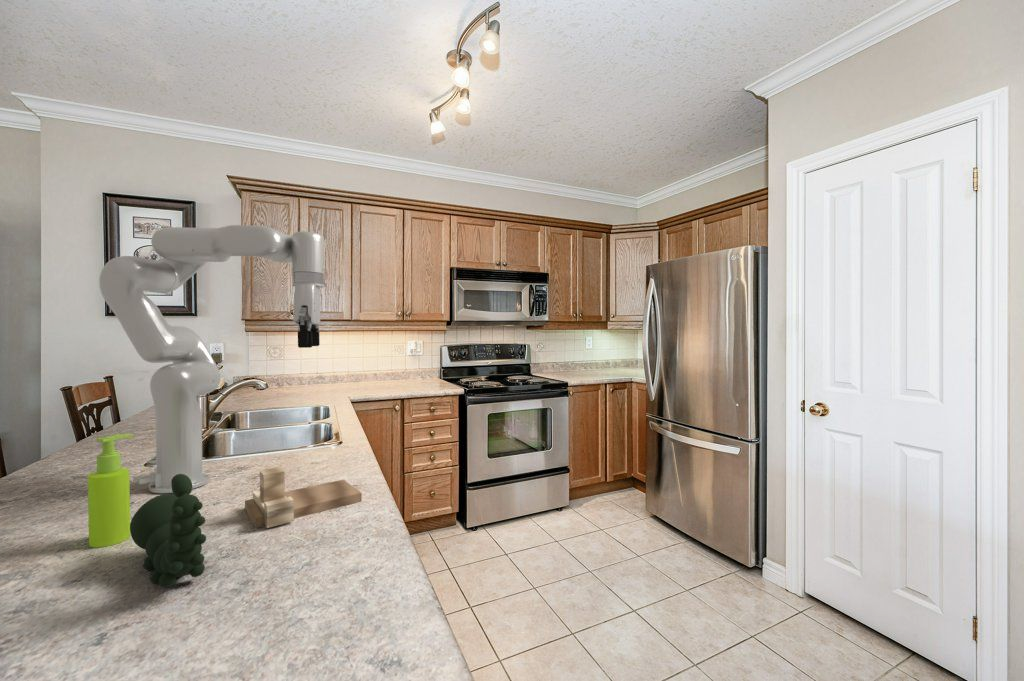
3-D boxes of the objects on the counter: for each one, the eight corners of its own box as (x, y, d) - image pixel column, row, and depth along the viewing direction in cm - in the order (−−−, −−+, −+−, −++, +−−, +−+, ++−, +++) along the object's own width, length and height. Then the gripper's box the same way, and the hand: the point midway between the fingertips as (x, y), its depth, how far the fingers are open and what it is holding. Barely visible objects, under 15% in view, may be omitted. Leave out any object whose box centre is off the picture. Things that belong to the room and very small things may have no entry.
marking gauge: (266, 527, 89) (266, 482, 89) (252, 505, 100) (252, 465, 100) (293, 521, 92) (293, 477, 92) (277, 500, 103) (276, 461, 103)
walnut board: (255, 527, 90) (255, 518, 90) (244, 509, 99) (244, 500, 99) (361, 501, 105) (361, 492, 105) (343, 487, 114) (343, 479, 114)
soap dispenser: (143, 533, 88) (142, 433, 87) (101, 549, 81) (99, 441, 81) (124, 529, 89) (122, 430, 89) (81, 544, 83) (79, 438, 82)
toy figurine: (223, 592, 71) (186, 530, 88) (225, 479, 69) (187, 437, 86) (148, 621, 64) (123, 547, 81) (148, 495, 62) (123, 446, 79)
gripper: (300, 283, 122) (301, 345, 123) (283, 276, 105) (284, 348, 106) (329, 284, 124) (330, 345, 124) (317, 277, 107) (318, 348, 108)
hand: (309, 346), depth 115 cm, fingers open, 9 cm apart
